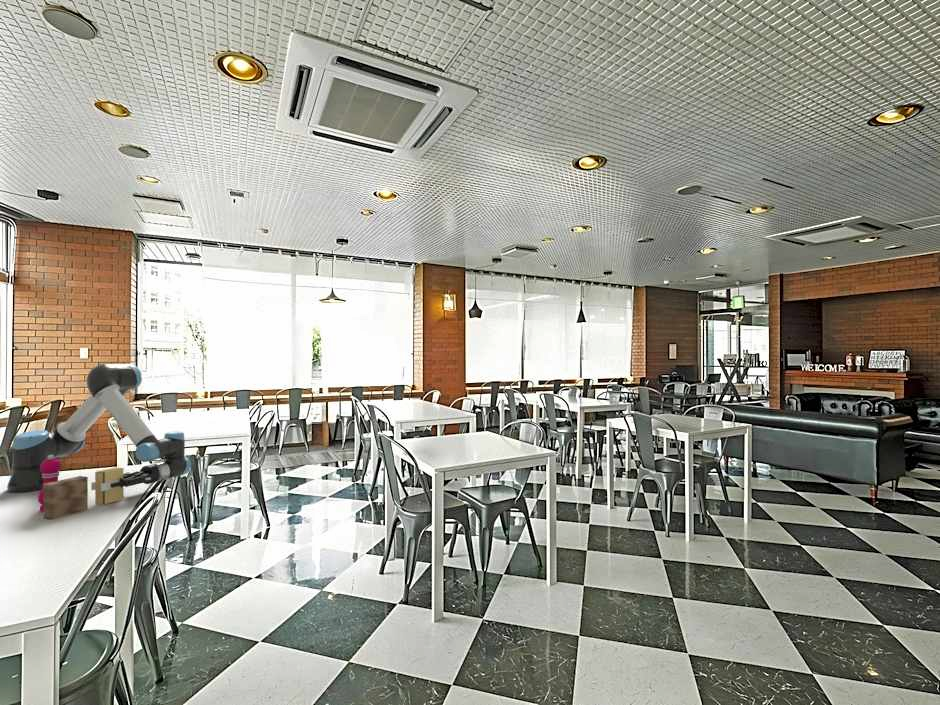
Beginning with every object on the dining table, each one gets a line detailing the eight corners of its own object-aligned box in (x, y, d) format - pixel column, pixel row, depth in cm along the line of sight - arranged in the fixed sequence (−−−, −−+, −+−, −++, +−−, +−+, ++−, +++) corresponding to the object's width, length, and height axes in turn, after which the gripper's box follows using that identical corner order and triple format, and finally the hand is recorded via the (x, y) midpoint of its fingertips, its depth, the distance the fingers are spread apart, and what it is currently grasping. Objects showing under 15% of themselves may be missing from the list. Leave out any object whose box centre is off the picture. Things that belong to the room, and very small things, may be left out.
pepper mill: (49, 513, 184) (48, 457, 184) (32, 512, 185) (32, 456, 185) (68, 507, 191) (68, 453, 191) (52, 506, 192) (52, 452, 192)
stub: (116, 498, 202) (116, 467, 202) (123, 499, 200) (123, 468, 200) (95, 503, 194) (95, 471, 194) (102, 505, 193) (102, 472, 193)
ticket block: (80, 508, 189) (80, 476, 189) (87, 509, 188) (87, 476, 188) (43, 518, 178) (43, 483, 178) (51, 520, 177) (51, 485, 176)
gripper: (169, 484, 212) (112, 499, 190) (139, 480, 218) (80, 494, 196) (169, 465, 212) (112, 479, 190) (139, 462, 218) (80, 475, 196)
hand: (96, 487), depth 193 cm, fingers closed on stub, 4 cm apart
